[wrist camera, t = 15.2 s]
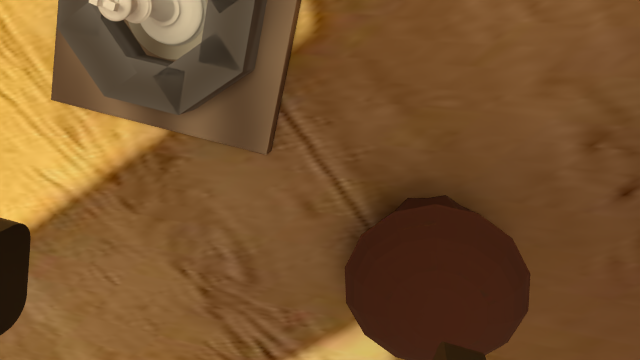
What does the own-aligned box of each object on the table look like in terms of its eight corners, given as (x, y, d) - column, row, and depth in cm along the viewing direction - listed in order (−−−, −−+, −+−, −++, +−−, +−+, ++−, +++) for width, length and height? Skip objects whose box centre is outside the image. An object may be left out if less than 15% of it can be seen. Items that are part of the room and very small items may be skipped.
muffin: (530, 199, 39) (571, 252, 29) (488, 331, 42) (514, 418, 32) (368, 164, 40) (357, 204, 30) (340, 295, 43) (321, 370, 33)
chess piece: (151, -41, 37) (62, -68, 27) (216, -12, 36) (150, -28, 27) (131, 28, 38) (39, 26, 28) (193, 57, 38) (123, 64, 28)
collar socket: (319, -92, 36) (308, -110, 31) (271, 150, 41) (255, 164, 36) (82, -143, 37) (40, -166, 33) (63, 97, 42) (24, 104, 38)
